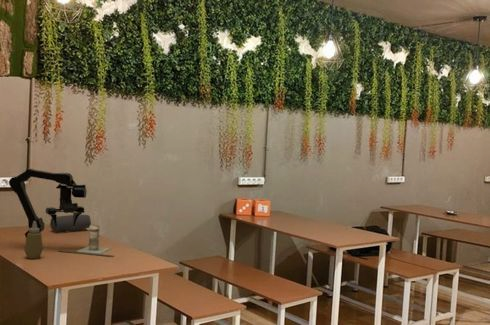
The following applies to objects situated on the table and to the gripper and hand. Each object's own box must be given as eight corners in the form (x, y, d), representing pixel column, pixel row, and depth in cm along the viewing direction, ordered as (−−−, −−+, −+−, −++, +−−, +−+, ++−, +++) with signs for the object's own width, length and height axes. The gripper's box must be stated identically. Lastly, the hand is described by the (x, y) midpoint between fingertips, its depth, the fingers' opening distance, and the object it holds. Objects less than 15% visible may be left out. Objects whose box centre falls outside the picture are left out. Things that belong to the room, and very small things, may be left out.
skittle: (94, 251, 273) (95, 226, 273) (86, 250, 275) (87, 225, 275) (100, 249, 278) (101, 225, 277) (93, 248, 280) (94, 224, 279)
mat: (99, 254, 269) (99, 253, 269) (76, 251, 271) (76, 251, 271) (110, 249, 282) (110, 248, 282) (88, 247, 284) (88, 246, 284)
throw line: (58, 251, 270) (58, 251, 270) (60, 250, 272) (60, 250, 272) (112, 257, 265) (112, 256, 265) (114, 256, 267) (114, 255, 267)
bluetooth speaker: (84, 228, 336) (84, 213, 336) (90, 230, 329) (91, 215, 329) (49, 231, 321) (50, 215, 320) (55, 234, 314) (56, 217, 314)
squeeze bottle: (25, 260, 250) (26, 222, 249) (23, 256, 257) (25, 220, 256) (43, 259, 253) (44, 222, 252) (41, 255, 260) (42, 219, 260)
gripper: (51, 199, 263) (50, 230, 264) (88, 198, 274) (87, 227, 275) (45, 196, 272) (44, 226, 273) (81, 195, 283) (80, 224, 284)
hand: (64, 226), depth 276 cm, fingers open, 9 cm apart
